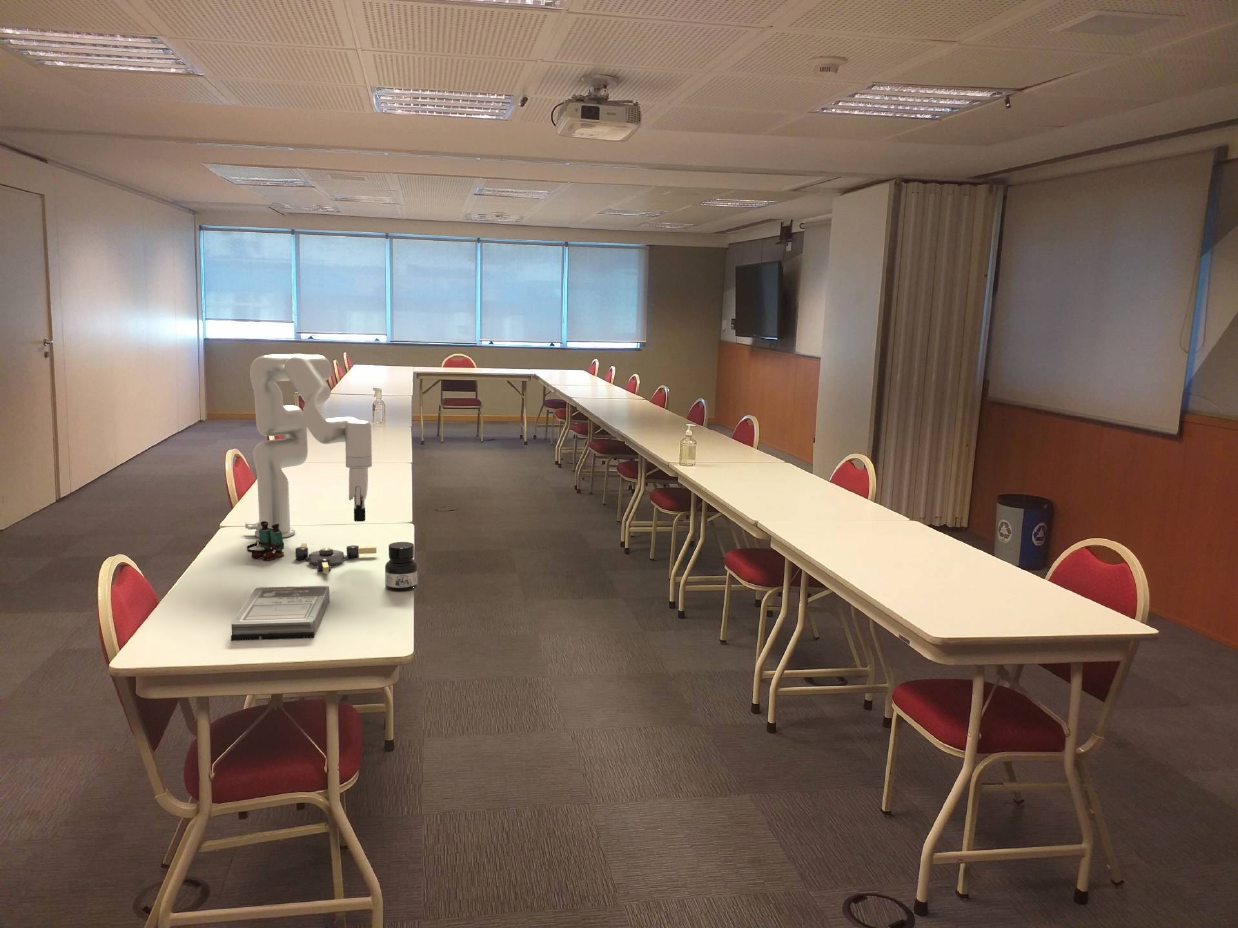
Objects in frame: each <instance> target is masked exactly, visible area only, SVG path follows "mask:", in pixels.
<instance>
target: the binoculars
mask: <svg viewBox="0 0 1238 928" xmlns="http://www.w3.org/2000/svg"><path fill="white" fill-rule="evenodd" d="M261 526H262V528H261V529H259V537H258V538H259V540H256V541H255V542H253V543H251V544H248V545H247V546H246V551H247V552H248V553H251V558H252V559H255V560H259V559H262V560H263V561H264V562H266V561H267V562H268V561H271V560H273V559H275V557H278V558H280V557H285V552H284V551H283V550H284V549H285V543H284V539H283V538H282V532H281V530H279V528H278V527H279V524H275V525H272V528H273V529H272V528H268V522H266V521H262V522H261ZM255 547H256V548H259V547H260V548H261V549H251V548H255Z"/></svg>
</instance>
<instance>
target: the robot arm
mask: <svg viewBox="0 0 1238 928" xmlns="http://www.w3.org/2000/svg"><path fill="white" fill-rule="evenodd" d="M249 368H250V369H249V376H250V382H251V385H252V389H253V394H254V406H255V407H254V409H255V421H256V422H255V423H256V429H257V432H258V434H260V435H262V436H263V437H274V436H275V437H277V436H284V435H285V437H284V438H278V439H277V438H276V439H269V440H264V441H261V442H258V443H257V444H256V445H255V447H254V448H253V451H252V458H253V462H254V467H255V471H256V480H257V501H258V521H255V522H245V525H244V527H245V529H247V530H250V531H251V530H255V531H254V536H255V537H256V538H259V529H261V528H262V526H261V522H262V521H266V522H268V528H272V525H275V524H279V527H278V528H279V530H281V532H282V538H288V537H292V536H294V535H295V534H296V529H295V528H294V527H291V523H290V522H291V520H290V517H291V516H290V515H291V514H290V491H289V490H290V489H289V485H290V484H289V480H288V478H287V476H286V474H285V472H284V471H283V470H282V469H284V468H290V467H296V466H300V465H303V464H304V463H305V462H306V460H307V458H308V453H309V452H308V449H309V448H308V447H309V446H308V431H309V432H310V433H311V435H312V436H313V438H314V439H315V440H316V441H317V442H318V443H321V444H324V445H330V444H338V443H345V467H346V468H349V469H348V500H349V501H352V500H353V503H354V504H353V521H354V522H359V523H360V522H365V521H366V505H365V503H366V501H365V500H366V499H367V496H368V488H369V486H368V485H369V468H371V467H372V466H373V465H372V464H373V461H372V460H373V458H372V457H373V456H372V455H373V453H372V451H373V450H372V447H373V446H372V424H371V422H370V421H367V420H363V419H357V418H356V417H354V416H341V417H331V418H325V417H324V416H323V415H322V413H321V412H320V410H319V407H320V406H321V405H323V404H324V403H325V402H327V401H328V399H330V397H331V394H332V391H331V390H332V389H331V388H330V385H328V383H327V382H326V381H327V380H329V379H330V378H331V376H332V371H333V368H332V364H331V363H330V361H329V359H328V358H327V357H325V356H324V355H321V354H304V353H293V354H292V353H289V354H288V353H287V354H281V353H279V354H265V355H261V356H258V357H256V358H255V359H254V360H253V361H252V362H251V365H250V367H249ZM289 381H290V382H291V383H292V385H293V386H294V387H295V389H296V391H297V392H298V393H299V395H300V397H301V399H303V401H304V406H303V410H302V409H301V408H300V407H299V406H297V405H292V404H291V405H290V404H289V405H287V404H286V405H284V399H283V398H284V395H283V392H282V390H281V388H280V386H279V385H278V383H277V382H289ZM272 529H273V528H272Z"/></svg>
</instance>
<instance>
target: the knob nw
mask: <svg viewBox="0 0 1238 928" xmlns="http://www.w3.org/2000/svg"><path fill="white" fill-rule="evenodd" d="M307 544H308V543H306V542H305V543H301V544H300V546H298V547H296V548H295V560H296V561H299V562H301V561H302V562H304V561H306V557H308V556H309V548H308V546H307Z"/></svg>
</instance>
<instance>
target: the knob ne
mask: <svg viewBox="0 0 1238 928" xmlns="http://www.w3.org/2000/svg"><path fill="white" fill-rule="evenodd" d="M369 554H370V555H371V554H372V555H373V554H377V546H359V545H356V544H355V545H346V555H347V556H348V559H349V560H356V559H359V558H360V555H369ZM348 559H347V560H348Z"/></svg>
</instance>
